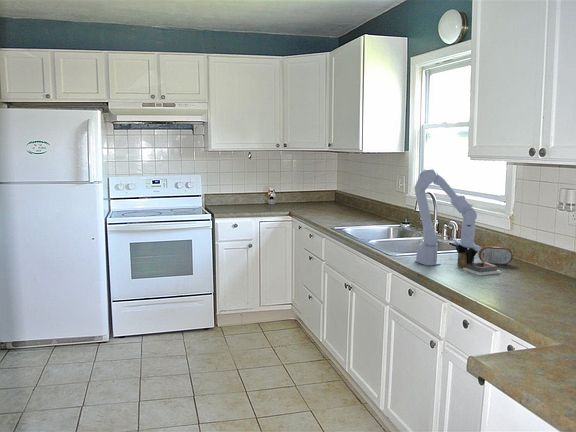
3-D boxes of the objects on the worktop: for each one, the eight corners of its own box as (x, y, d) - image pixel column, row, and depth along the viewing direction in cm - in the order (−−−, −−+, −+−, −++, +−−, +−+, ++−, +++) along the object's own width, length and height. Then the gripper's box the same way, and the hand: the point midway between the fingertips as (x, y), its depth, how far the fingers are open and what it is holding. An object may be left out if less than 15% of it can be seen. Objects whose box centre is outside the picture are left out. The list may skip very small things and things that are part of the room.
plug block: (457, 265, 247) (458, 253, 246) (467, 264, 250) (468, 252, 249) (463, 267, 244) (464, 254, 243) (473, 266, 246) (474, 253, 245)
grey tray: (462, 269, 240) (463, 263, 239) (483, 267, 245) (483, 261, 244) (479, 275, 231) (479, 268, 230) (500, 273, 236) (500, 266, 235)
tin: (511, 264, 253) (512, 246, 252) (512, 265, 250) (514, 248, 249) (477, 262, 256) (478, 244, 254) (478, 263, 253) (480, 246, 251)
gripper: (486, 236, 240) (484, 266, 242) (463, 230, 253) (461, 259, 255) (474, 237, 237) (471, 267, 239) (451, 231, 250) (449, 260, 252)
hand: (465, 263), depth 247 cm, fingers closed on plug block, 4 cm apart
